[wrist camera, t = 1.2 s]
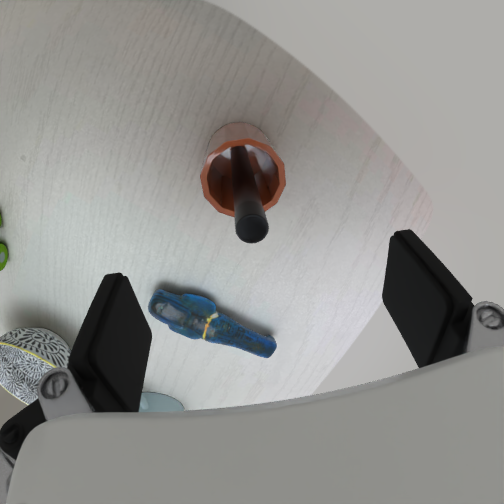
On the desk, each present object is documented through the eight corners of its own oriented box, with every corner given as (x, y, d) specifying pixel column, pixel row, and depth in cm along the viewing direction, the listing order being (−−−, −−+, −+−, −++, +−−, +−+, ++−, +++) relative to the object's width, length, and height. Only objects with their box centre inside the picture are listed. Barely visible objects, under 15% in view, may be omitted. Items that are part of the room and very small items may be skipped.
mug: (189, 419, 47) (188, 471, 39) (138, 418, 47) (132, 467, 38) (168, 374, 40) (162, 438, 31) (109, 374, 39) (95, 433, 31)
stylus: (228, 147, 24) (233, 217, 13) (246, 144, 24) (266, 212, 13) (231, 163, 25) (238, 246, 14) (249, 161, 25) (270, 241, 14)
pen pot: (202, 127, 24) (194, 147, 18) (266, 118, 24) (281, 134, 18) (212, 186, 26) (209, 223, 20) (273, 177, 26) (288, 211, 20)
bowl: (119, 350, 37) (108, 397, 30) (78, 389, 42) (68, 427, 35) (18, 280, 30) (-10, 323, 23) (-3, 337, 35) (-21, 373, 28)
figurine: (278, 324, 37) (162, 270, 32) (288, 340, 33) (160, 283, 28) (258, 355, 37) (143, 307, 33) (266, 372, 34) (140, 323, 29)
